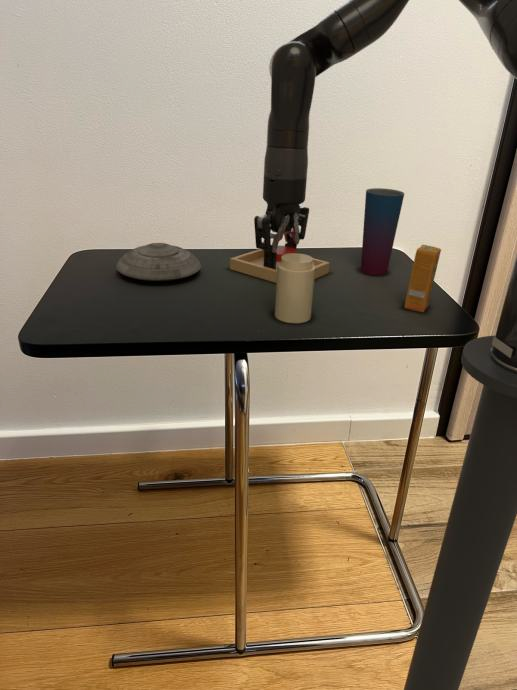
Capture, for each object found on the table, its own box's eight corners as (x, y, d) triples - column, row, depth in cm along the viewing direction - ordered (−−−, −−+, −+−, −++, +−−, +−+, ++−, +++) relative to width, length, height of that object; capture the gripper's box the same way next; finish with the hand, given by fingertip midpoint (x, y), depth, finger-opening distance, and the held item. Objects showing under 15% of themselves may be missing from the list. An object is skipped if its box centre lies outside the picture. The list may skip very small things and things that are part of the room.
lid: (257, 257, 100) (258, 250, 100) (277, 250, 104) (277, 243, 104) (283, 264, 97) (284, 256, 96) (302, 256, 101) (303, 249, 101)
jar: (316, 314, 84) (322, 256, 80) (301, 326, 79) (306, 266, 75) (284, 306, 86) (288, 250, 82) (268, 317, 82) (271, 259, 78)
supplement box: (425, 313, 86) (437, 252, 82) (403, 308, 87) (414, 248, 83) (429, 307, 89) (441, 247, 84) (409, 302, 90) (419, 243, 86)
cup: (353, 274, 102) (363, 192, 96) (358, 264, 108) (368, 186, 101) (389, 279, 100) (402, 196, 94) (393, 268, 106) (405, 190, 100)
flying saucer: (189, 258, 107) (188, 230, 104) (211, 283, 94) (211, 252, 92) (111, 263, 102) (108, 234, 99) (123, 291, 89) (121, 259, 87)
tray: (328, 273, 102) (329, 262, 101) (293, 288, 94) (294, 276, 93) (267, 256, 110) (267, 246, 109) (229, 269, 102) (230, 258, 101)
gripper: (291, 167, 101) (285, 255, 109) (242, 175, 91) (239, 271, 98) (325, 172, 97) (317, 263, 105) (278, 181, 87) (272, 281, 94)
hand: (279, 266), depth 101 cm, fingers closed on lid, 5 cm apart
